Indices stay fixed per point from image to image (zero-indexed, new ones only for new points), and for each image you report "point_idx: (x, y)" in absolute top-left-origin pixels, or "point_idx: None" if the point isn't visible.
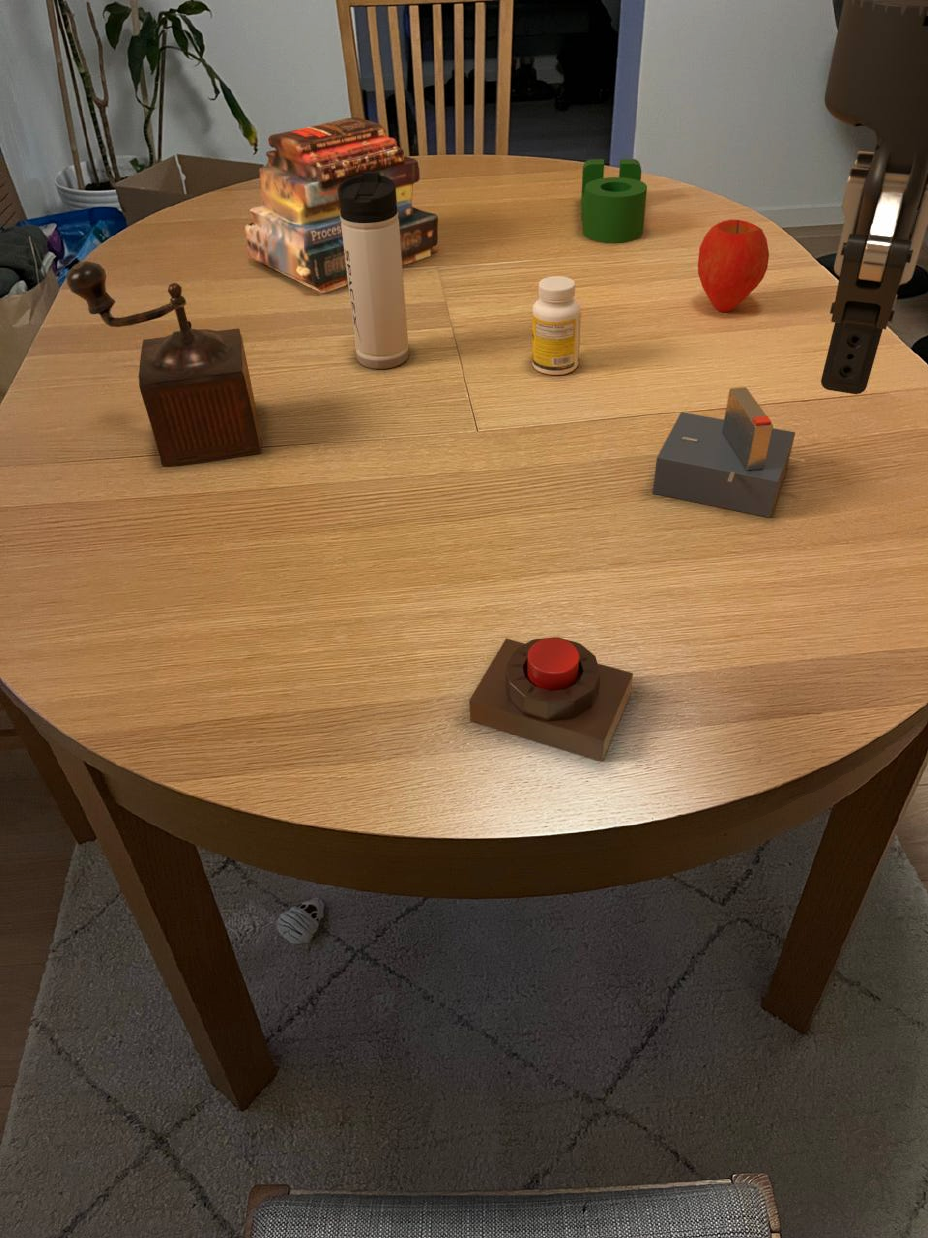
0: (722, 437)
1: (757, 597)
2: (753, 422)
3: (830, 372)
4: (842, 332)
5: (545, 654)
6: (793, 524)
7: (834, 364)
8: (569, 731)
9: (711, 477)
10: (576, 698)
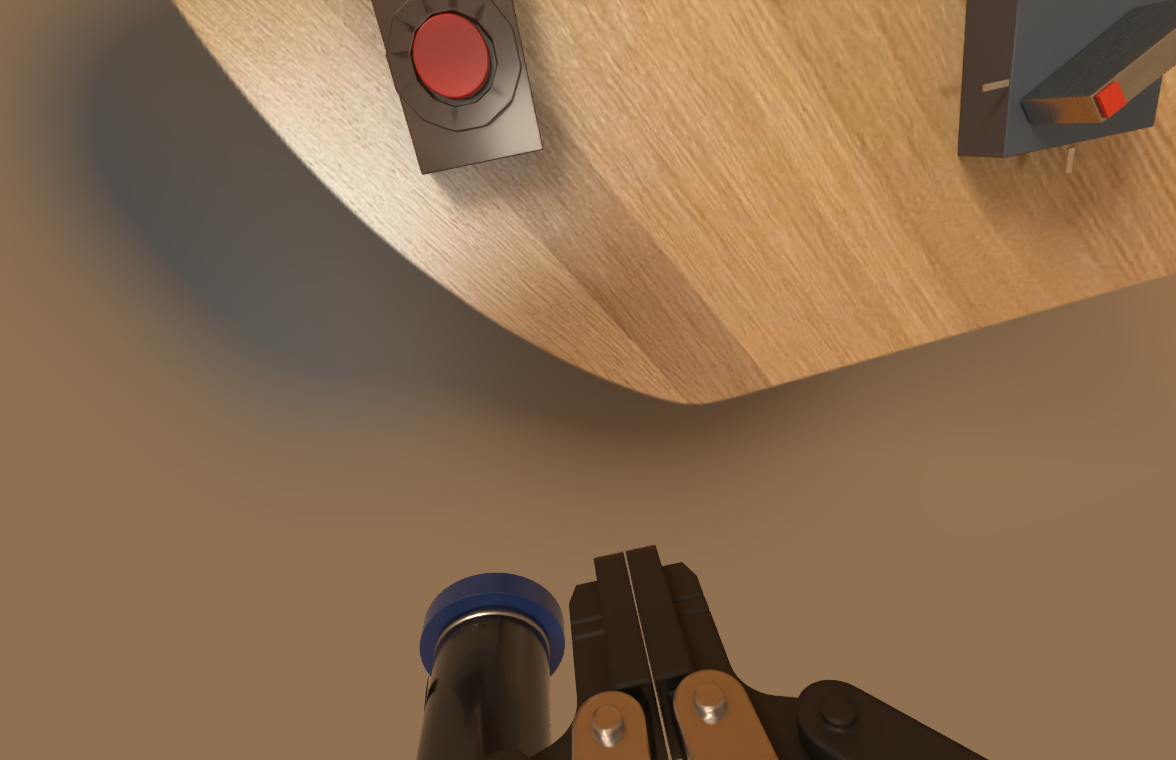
0: (1115, 16)
1: (783, 208)
2: (1104, 87)
3: (597, 591)
4: (577, 700)
5: (445, 44)
6: (952, 189)
7: (571, 628)
8: (408, 127)
9: (1000, 47)
10: (427, 120)
